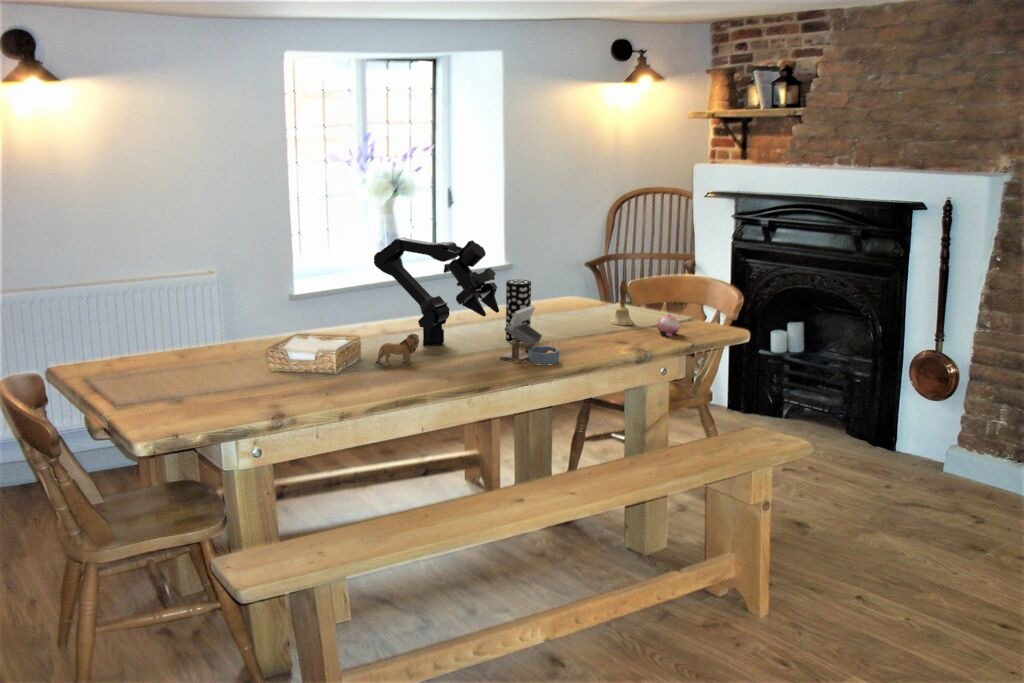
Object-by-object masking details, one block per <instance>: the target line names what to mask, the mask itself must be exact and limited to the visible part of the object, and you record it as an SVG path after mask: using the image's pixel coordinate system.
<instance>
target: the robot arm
mask: <svg viewBox="0 0 1024 683" xmlns="http://www.w3.org/2000/svg"><path fill="white" fill-rule="evenodd" d="M485 250H486V249H484V247H483V246H481V245H480V244H479V243H477V242H475V241H474V240H472V239H471V240H469V241H468V242H467V243H466V245H464V246H463V247H461V246H459V245H457V243H456V242H455V241H442V242H441V241H440V242H429V241H422V240H419V239H413V238H412V239H411V238H407V237H398V238H397V237H396V238H394V240H393V241H391V243H389V245H387V246H385V247H383V248H382V250H380V251H377V252H375V254H374V256H373V264H374V266H375V267H376V268H377V269H379V270H380V271H381V272H382V273H384V274H387V275H389V276H391V277H392V278H393V279H394V280H395V281H396V282H397V283H398V285H400V286H401V287H402V288H403V289H404V290H405V291H406V292H407V294H408V295H409V296H410V297H411V298H412V299H413V300H414V301H415V302H416V303H417V304H418V305H419V307H420V312H421V314H422V317H420V319H419V320H418V321H417V322H418V325H419V328H422V329H423V330H422V335H423V337H422V338H423V339H422V346H443V343H445V329H444V328H443V325H445V324H446V322H447V319H449V317H450V308H449V306H448V303H447V302H445V301H444V299H443V298H442V297H441V295H438V296H432V295H430V294H429V292H428V291H427V290H426V289H425V288H424V287H423V286H422V285H421V284H420V283H419V282H418V281H417V280H416V278H414V276H413V275H412V274H411V273H410V272H409V271H408V270H407V269H406V268H405V267H404V264H403V260H402V258H401V257H402V256H403V255H404V253H405V252H408V253H412V254H413V253H414V254H420V255H425V256H428V257H429V256H430V257H431V258H432V259H433V260H436V261H439V262H442V263H443V262H447V261H450V262H449V263H445V264H443V265H444V266H443V273H444V274H447V273H451V275H452V276H453V277H454V278H455V280H456V281H457V282H456V286H457V287H461V288H462V290H461V291H460V292H459V293H458V294H457V295H456V296H455V301H456V302H457V304H458V305H461V306H462V307H466V308H467V309H469V310H471V311H473V312H474V313H476V314H478V315H480V316H482V317H484V318H485V317H486V316H487V313H486V311H485V309H484V307H483V306H482V304H481V302H482V303H483V304H484V305H486V306H487V307H488V308H489V309H490V310H492V311H494V312H495V313H496V314H498V313H499V312H500V307H499V305H498V303H497V299H496V292H497V291H498V290H497V289H498V286H497V285H496V283H495V282H493V281H495V280H496V277H495V276H496V272H495V270H494V269H492V268H491V267H489V268H486V269H484V271H483V272H479V273H478V272H476V271H472V269H471V268H473V267H475V266H476V265H477V264H478V263H479V262H480V261H481V260H482V259H483V258H484V257H486V254H487V253H486V251H485ZM470 267H471V268H470ZM479 299H480V300H479ZM480 301H481V302H480Z"/></svg>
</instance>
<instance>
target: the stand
mask: <svg viewBox="0 0 1024 683" xmlns="http://www.w3.org/2000/svg"><path fill="white" fill-rule="evenodd" d="M524 347H525V348H524V350H523V349H520V343H519V340H518V339H512V342H511V351H510V352H507V353H504V354H502V355H500V356H499V359H500V360H502V361H508V360H511V361H510V362H514V361H518V362H517V363H520V362H523V361H525V360H527V361H528V349H530V348H532V347H533V345H531V346H529V347H527V346H526V345H524ZM525 362H526V361H525ZM523 363H524V362H523Z"/></svg>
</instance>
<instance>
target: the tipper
mask: <svg viewBox="0 0 1024 683" xmlns="http://www.w3.org/2000/svg"><path fill="white" fill-rule="evenodd" d="M535 309H536V306H535V305H532V304H531V306H529V307H526V308H524V309H521V310H518V311H515V313H514V315H513V317H512V319H511V321H510V324H511V325H509V326H507V327H506V326H505V327H504V330H503V331H505V332H506V331H507V332H508V333H509V334H511V335H512V336H513V337H515V338H516V339H518V340H519V341H520V342H522V344H523V345H524V346H525V345H526V346H527V347H529V346H531V345H532V346H533V345H535V344H538V343H540V341H541V339H542V337H543V334H541V333H540V332H539V331H537V330H536V329H534V328H533V327H531V325H530V326H529V325H527V323H526V322H524V323H522V322H523V321H525V320H528V319H530V317H532V315H533V313H534V311H535ZM521 323H522V324H521Z"/></svg>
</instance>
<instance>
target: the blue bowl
mask: <svg viewBox="0 0 1024 683" xmlns="http://www.w3.org/2000/svg"><path fill="white" fill-rule="evenodd" d="M548 351H553V353H546V352H548ZM528 360H529V361H530V362H531V363H535V364H541V365H543V366H549V365H548V364H554V365H556V364H558V363H559V362H560V350H559V348H557V347H555V346H548V345H541V346H540V345H539V346H532V348H530V349H528ZM528 360H527V361H528ZM529 361H528V362H529ZM530 362H529V363H530ZM557 362H558V363H557ZM531 363H530V364H531ZM555 363H556V364H555ZM535 364H534V365H535ZM541 365H540V366H541Z"/></svg>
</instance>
